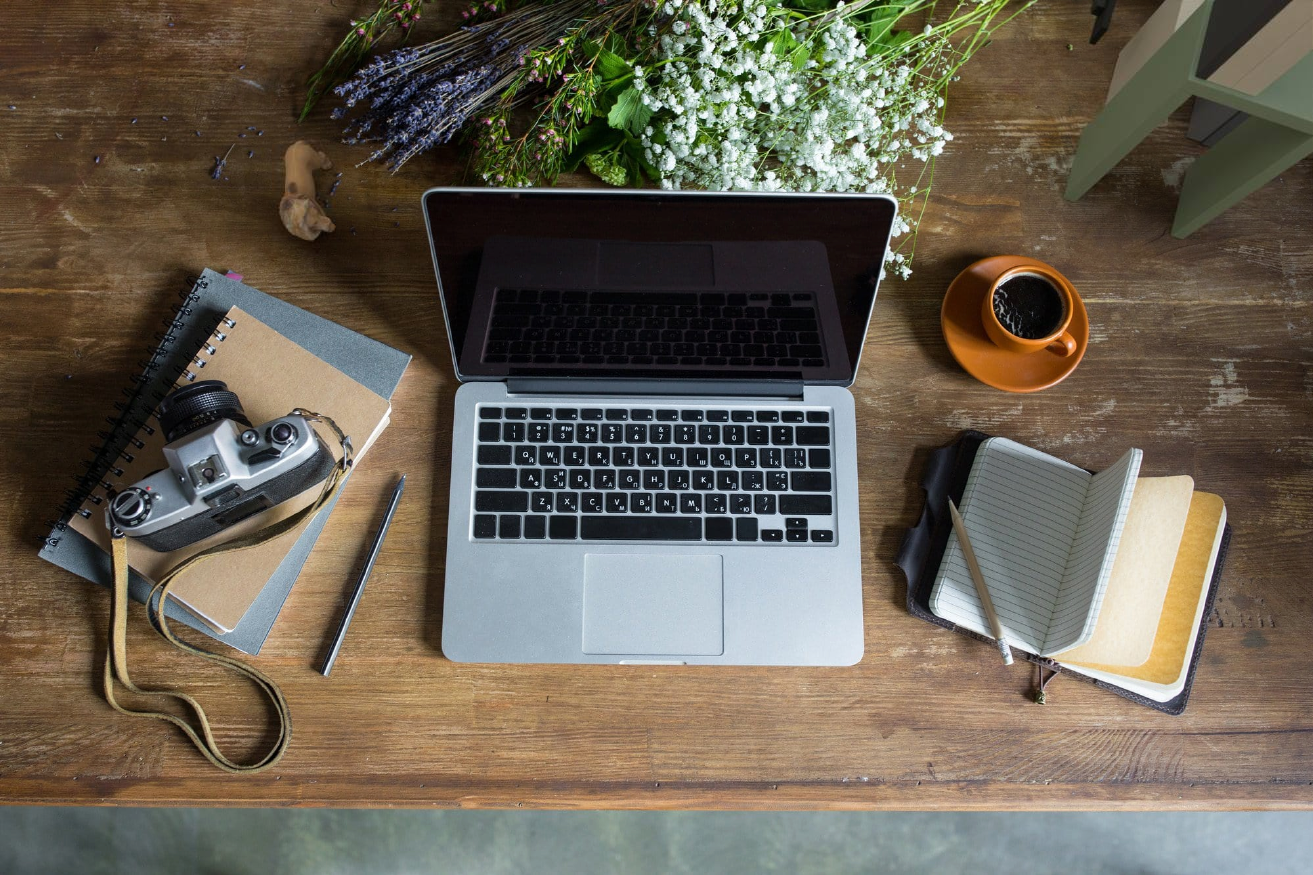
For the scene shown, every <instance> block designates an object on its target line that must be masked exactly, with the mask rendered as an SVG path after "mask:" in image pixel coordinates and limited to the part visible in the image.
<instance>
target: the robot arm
mask: <svg viewBox="0 0 1313 875" xmlns="http://www.w3.org/2000/svg"><path fill="white" fill-rule="evenodd" d="M1091 1H1092V3H1091V7H1090V10H1089V12H1090V15H1091V16H1095V21H1094V23H1093V27H1092V31H1091V33H1090V38H1089V41H1088V44H1089V45H1092V46H1097V43H1099V41H1100V40H1101V39H1102V37H1104V35H1105V34H1106V33H1107V32H1108V30H1109V28H1110V25H1111V20H1112V19H1113V18H1112V17H1113V14H1114V11H1115V7H1116V3H1117V0H1091Z"/></svg>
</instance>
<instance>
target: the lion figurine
mask: <svg viewBox="0 0 1313 875" xmlns="http://www.w3.org/2000/svg"><path fill="white" fill-rule="evenodd" d="M284 165H285V182H284V194H283V195H284V196H282V197H281V201H280V203H279V207H278V208H279V212H278V214H279V215H280V219H281V221H282V224H283V225H284V227H285V228H286V229H287V231H288V232H289V233H290V234H291V235H293V236H296V237H298V238H300V239H302V240H306V241H311V242H313V241H314V240H315V239H316V238H318V237H319V236H320V235H321V232H326V233H333V232H334V231H335V229H336V227H337V226H336V225H335V224H334V223H333V222H332V221H331V218H329V217H327V215H326V213H325V211H324V210H323V209H322V207H321V206H320V204H319V203H318V202H317V200H316V186H315V185H316V184H315V181H314V177H313V171H314V170H319V169H320V168H322V169H323V170H325V171H329V170H330V169H331V168H332V167H333V164H332V161H331V160H330V159H329V157H327V155H326V154H325V153H324V152H323V151H316V150H315V149H314V148H313V147H311V145H310V144H309V143H308V142H307V141H305V140H297V141H296V142H295V143H294V144H292V145H290V146H289V147H288V148H287V149H286V152H285V155H284Z"/></svg>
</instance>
